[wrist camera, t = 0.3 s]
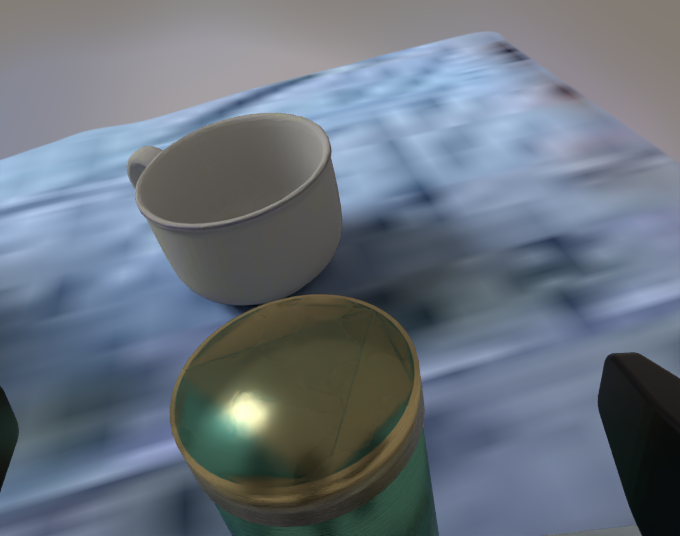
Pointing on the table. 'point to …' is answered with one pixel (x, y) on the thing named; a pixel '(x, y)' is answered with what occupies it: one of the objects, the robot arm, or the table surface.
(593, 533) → the tray
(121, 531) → the table surface
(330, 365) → the tea tin
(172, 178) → the teacup
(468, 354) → the table surface
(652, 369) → the robot arm
